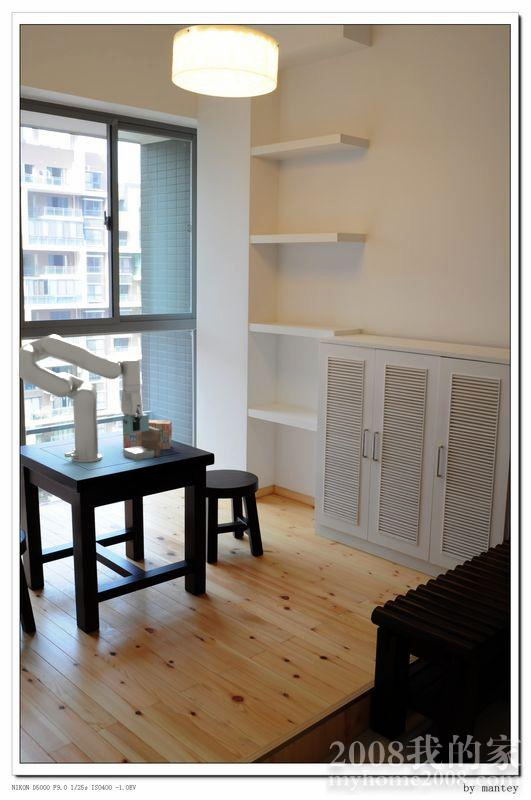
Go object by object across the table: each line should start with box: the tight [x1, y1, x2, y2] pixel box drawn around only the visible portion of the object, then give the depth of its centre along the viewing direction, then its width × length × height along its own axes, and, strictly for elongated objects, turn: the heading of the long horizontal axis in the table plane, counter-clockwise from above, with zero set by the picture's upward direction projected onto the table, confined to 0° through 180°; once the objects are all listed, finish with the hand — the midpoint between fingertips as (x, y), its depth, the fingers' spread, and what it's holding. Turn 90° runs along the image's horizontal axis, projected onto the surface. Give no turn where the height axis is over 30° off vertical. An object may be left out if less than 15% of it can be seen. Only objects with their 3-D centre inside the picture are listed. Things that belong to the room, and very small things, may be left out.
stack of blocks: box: [122, 419, 173, 450], centre depth 341 cm, size 21×6×12 cm, turn 86°
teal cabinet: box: [121, 412, 150, 434], centre depth 323 cm, size 11×5×7 cm, turn 132°
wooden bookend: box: [122, 426, 161, 461], centre depth 327 cm, size 12×12×12 cm
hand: (132, 428), depth 322 cm, fingers closed on teal cabinet, 5 cm apart
